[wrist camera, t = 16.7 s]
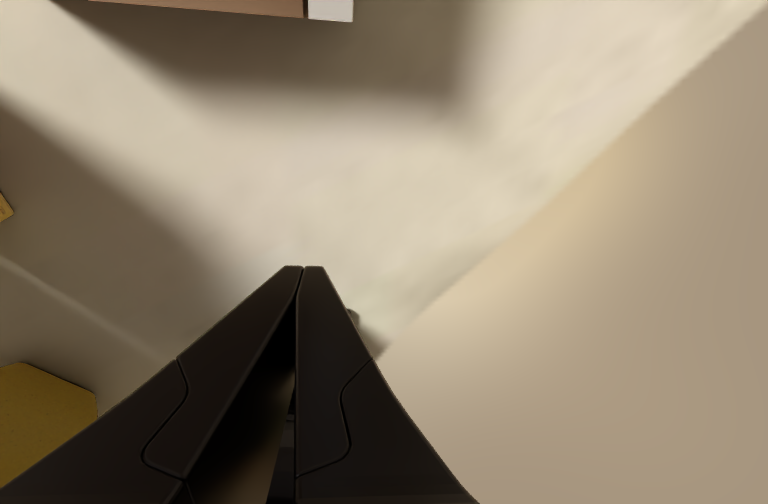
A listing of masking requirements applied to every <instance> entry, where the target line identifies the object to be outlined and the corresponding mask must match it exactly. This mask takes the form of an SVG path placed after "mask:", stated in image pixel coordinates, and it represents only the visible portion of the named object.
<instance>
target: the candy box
mask: <svg viewBox="0 0 768 504" xmlns="http://www.w3.org/2000/svg"><path fill="white" fill-rule="evenodd" d="M13 214H14V212H13V210H12V209H11V207H10V206H9V205H8V203H7V202H6V200H5V199H4V197H3V196H2V194H1V193H0V222H1V221H3V220H5V219H6V218H8V217H10V216H12V215H13Z"/></svg>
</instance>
